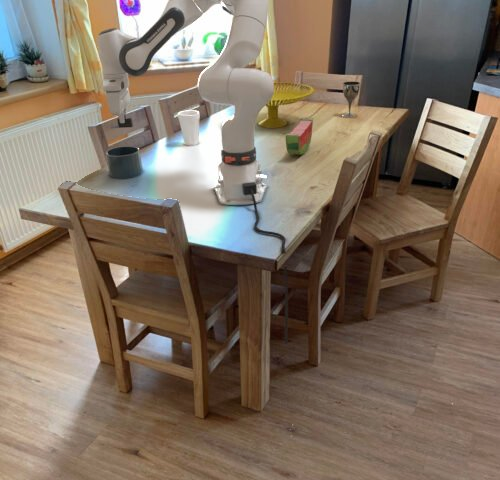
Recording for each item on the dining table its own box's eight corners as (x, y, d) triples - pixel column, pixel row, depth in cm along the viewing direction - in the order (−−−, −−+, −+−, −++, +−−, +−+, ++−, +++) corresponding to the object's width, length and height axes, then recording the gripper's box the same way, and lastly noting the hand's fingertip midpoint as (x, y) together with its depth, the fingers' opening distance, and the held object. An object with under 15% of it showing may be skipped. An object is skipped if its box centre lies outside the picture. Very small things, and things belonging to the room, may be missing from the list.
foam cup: (177, 145, 231) (173, 114, 223) (188, 139, 237) (185, 109, 229) (194, 147, 227) (191, 116, 219) (205, 141, 233) (203, 111, 226)
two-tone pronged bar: (133, 125, 195) (132, 117, 193) (132, 127, 193) (130, 119, 191) (112, 126, 195) (110, 117, 194) (110, 128, 193) (109, 120, 191)
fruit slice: (299, 141, 228) (300, 117, 222) (313, 142, 226) (314, 118, 220) (284, 160, 208) (284, 135, 202) (299, 161, 206) (300, 135, 200)
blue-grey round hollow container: (140, 177, 198) (136, 155, 193) (106, 179, 198) (102, 157, 193) (145, 166, 208) (141, 145, 203) (113, 168, 208) (109, 146, 203)
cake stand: (310, 135, 234) (311, 100, 225) (224, 135, 241) (221, 100, 232) (317, 113, 266) (318, 81, 257) (240, 113, 273) (239, 82, 264)
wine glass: (338, 115, 262) (340, 82, 253) (351, 112, 264) (353, 80, 255) (346, 118, 256) (349, 85, 247) (360, 116, 258) (363, 83, 250)
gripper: (113, 76, 193) (120, 114, 201) (101, 87, 177) (109, 129, 185) (130, 75, 193) (136, 114, 201) (119, 86, 176) (126, 128, 185)
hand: (123, 121), depth 193 cm, fingers closed on two-tone pronged bar, 2 cm apart
